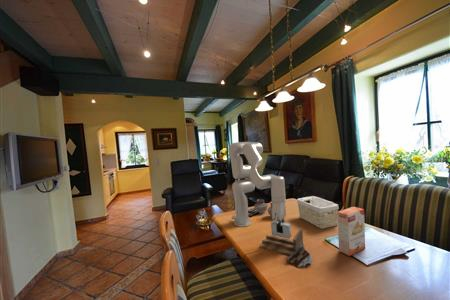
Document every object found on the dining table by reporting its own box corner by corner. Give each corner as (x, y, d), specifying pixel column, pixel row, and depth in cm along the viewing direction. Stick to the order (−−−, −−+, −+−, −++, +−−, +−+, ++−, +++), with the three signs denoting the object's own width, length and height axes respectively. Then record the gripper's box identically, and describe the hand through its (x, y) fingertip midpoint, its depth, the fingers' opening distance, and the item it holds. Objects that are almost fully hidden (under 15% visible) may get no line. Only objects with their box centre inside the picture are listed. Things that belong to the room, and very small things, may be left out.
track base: (259, 247, 107) (258, 231, 107) (269, 236, 119) (268, 222, 118) (296, 257, 96) (295, 239, 95) (303, 244, 107) (302, 228, 107)
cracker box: (350, 257, 93) (348, 214, 92) (338, 251, 98) (336, 211, 98) (366, 248, 99) (364, 208, 99) (354, 243, 105) (352, 205, 104)
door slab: (271, 235, 108) (270, 222, 108) (273, 232, 111) (272, 220, 111) (289, 238, 103) (288, 225, 102) (291, 236, 105) (290, 223, 105)
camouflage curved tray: (296, 272, 86) (312, 251, 87) (285, 260, 92) (300, 240, 93) (304, 278, 91) (319, 257, 92) (293, 266, 97) (307, 247, 98)
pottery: (274, 221, 141) (273, 205, 140) (251, 212, 162) (250, 198, 161) (284, 217, 147) (283, 202, 146) (261, 209, 168) (260, 195, 167)
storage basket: (341, 226, 126) (339, 204, 126) (321, 230, 122) (319, 208, 121) (314, 214, 149) (313, 195, 149) (297, 217, 145) (295, 198, 144)
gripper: (277, 194, 115) (279, 224, 115) (266, 202, 102) (268, 236, 102) (289, 195, 111) (291, 226, 111) (280, 203, 97) (282, 239, 98)
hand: (280, 230), depth 107 cm, fingers closed on door slab, 3 cm apart
